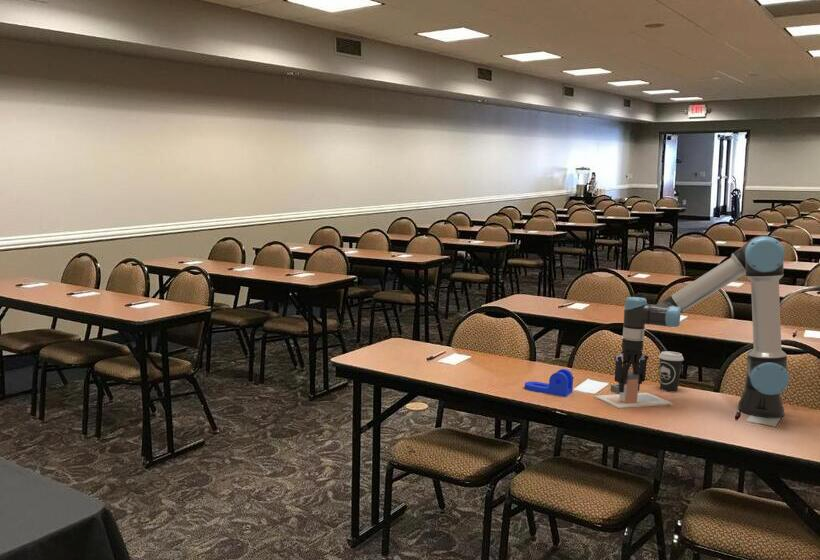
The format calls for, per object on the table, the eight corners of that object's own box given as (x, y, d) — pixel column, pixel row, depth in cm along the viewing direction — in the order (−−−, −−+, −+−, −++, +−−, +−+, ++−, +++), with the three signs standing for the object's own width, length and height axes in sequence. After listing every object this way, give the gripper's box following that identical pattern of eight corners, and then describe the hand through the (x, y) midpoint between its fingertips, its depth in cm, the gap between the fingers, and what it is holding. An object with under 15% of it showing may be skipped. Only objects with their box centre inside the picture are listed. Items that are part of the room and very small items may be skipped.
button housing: (636, 394, 273) (636, 388, 272) (621, 395, 270) (621, 389, 270) (625, 389, 279) (625, 383, 279) (610, 390, 277) (610, 384, 277)
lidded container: (637, 402, 258) (639, 374, 257) (626, 403, 256) (628, 375, 255) (629, 399, 262) (631, 371, 261) (619, 400, 260) (621, 372, 259)
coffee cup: (683, 393, 276) (686, 356, 275) (658, 391, 278) (660, 354, 277) (679, 387, 286) (681, 351, 284) (654, 385, 288) (657, 350, 286)
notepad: (672, 404, 260) (672, 402, 259) (618, 408, 252) (618, 406, 252) (646, 393, 274) (646, 392, 274) (594, 397, 266) (594, 395, 266)
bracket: (572, 392, 272) (573, 370, 271) (565, 397, 265) (567, 374, 264) (528, 385, 281) (529, 363, 280) (521, 389, 274) (522, 367, 273)
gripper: (646, 336, 263) (641, 396, 265) (606, 337, 257) (602, 398, 260) (659, 340, 256) (654, 401, 258) (619, 341, 250) (614, 404, 252)
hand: (628, 400), depth 259 cm, fingers closed on lidded container, 4 cm apart
